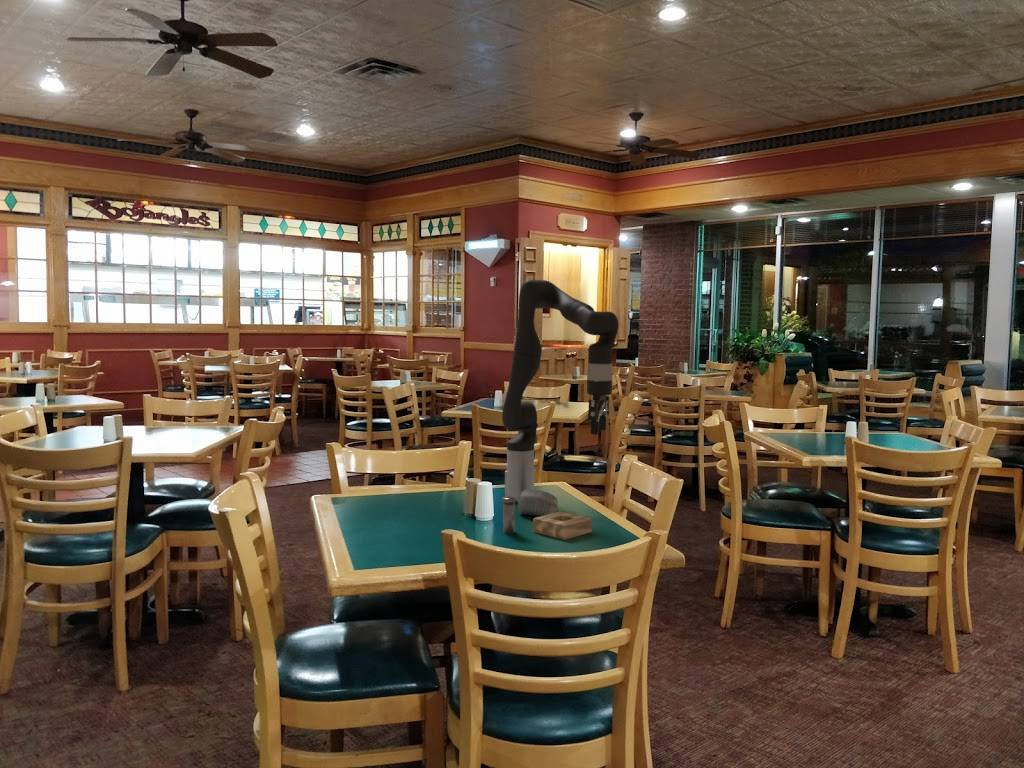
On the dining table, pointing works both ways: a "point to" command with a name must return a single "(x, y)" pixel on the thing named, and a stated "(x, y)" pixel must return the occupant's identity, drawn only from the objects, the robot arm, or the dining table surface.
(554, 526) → the block
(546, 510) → the grey rounded rock
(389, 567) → the dining table surface
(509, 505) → the pin
